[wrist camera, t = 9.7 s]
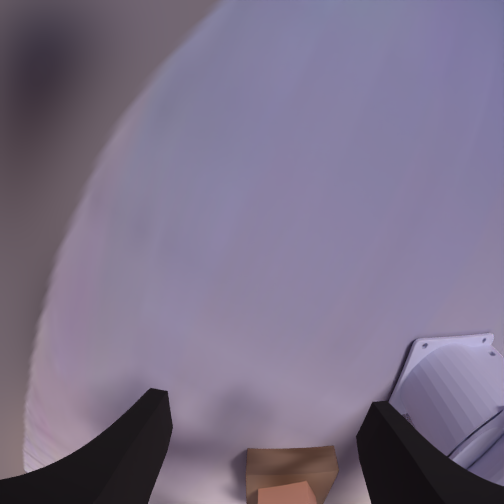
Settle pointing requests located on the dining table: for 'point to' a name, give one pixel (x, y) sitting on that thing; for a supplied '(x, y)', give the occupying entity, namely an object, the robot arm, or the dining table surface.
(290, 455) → the walnut block
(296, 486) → the terracotta cube
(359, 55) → the dining table surface
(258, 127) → the dining table surface
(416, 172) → the dining table surface
